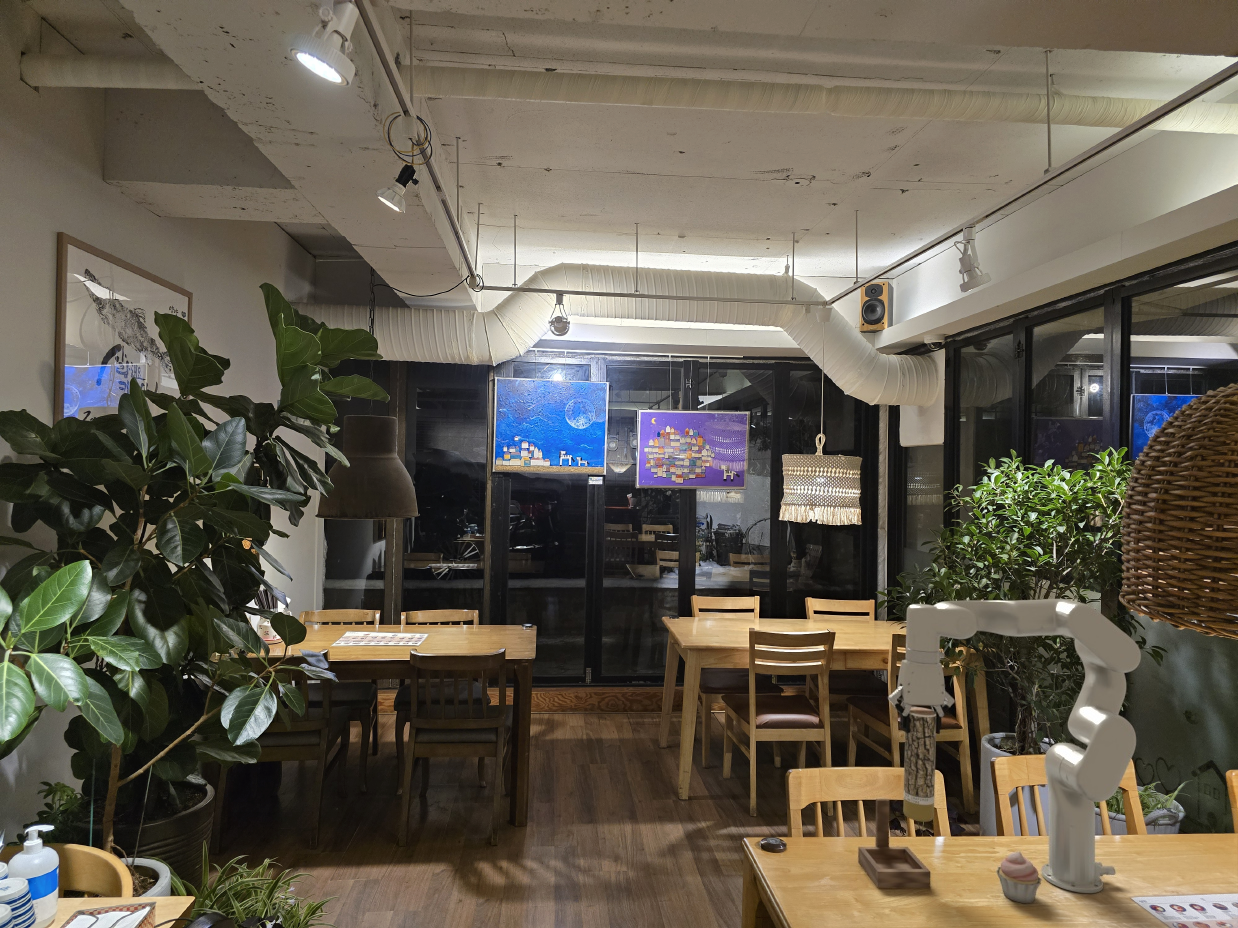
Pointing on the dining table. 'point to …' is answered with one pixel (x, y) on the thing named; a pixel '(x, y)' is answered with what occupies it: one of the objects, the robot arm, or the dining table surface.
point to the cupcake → (1018, 878)
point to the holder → (891, 858)
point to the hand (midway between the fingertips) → (920, 731)
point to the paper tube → (920, 765)
